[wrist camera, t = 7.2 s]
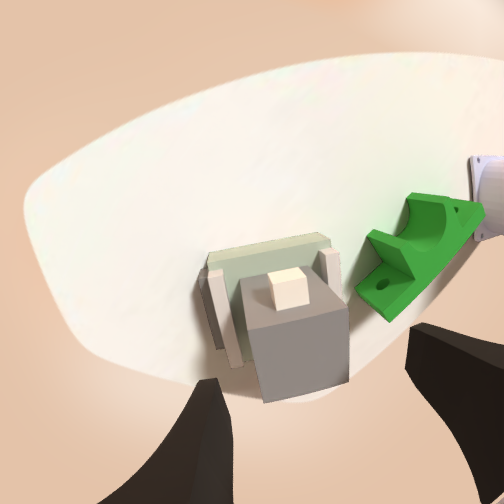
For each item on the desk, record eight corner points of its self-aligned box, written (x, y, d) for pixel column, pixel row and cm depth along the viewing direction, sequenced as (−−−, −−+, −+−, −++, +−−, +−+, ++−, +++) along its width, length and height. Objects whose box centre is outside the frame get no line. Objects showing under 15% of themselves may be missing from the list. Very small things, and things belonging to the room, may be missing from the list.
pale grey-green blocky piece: (317, 231, 18) (338, 243, 15) (326, 323, 20) (343, 349, 16) (197, 254, 18) (190, 272, 14) (220, 345, 20) (219, 376, 16)
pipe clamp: (430, 171, 18) (470, 171, 14) (448, 208, 19) (486, 215, 15) (334, 262, 19) (364, 284, 15) (359, 297, 20) (390, 324, 16)
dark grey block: (304, 245, 16) (347, 278, 10) (313, 324, 17) (348, 381, 11) (235, 258, 16) (241, 301, 10) (251, 337, 17) (263, 403, 11)
